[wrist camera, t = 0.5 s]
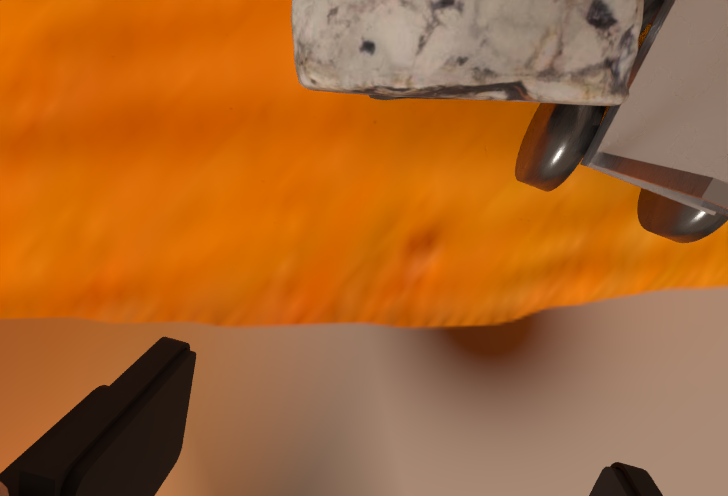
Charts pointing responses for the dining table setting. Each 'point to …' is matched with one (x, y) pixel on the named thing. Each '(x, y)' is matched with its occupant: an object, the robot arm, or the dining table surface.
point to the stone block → (469, 49)
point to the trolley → (653, 125)
